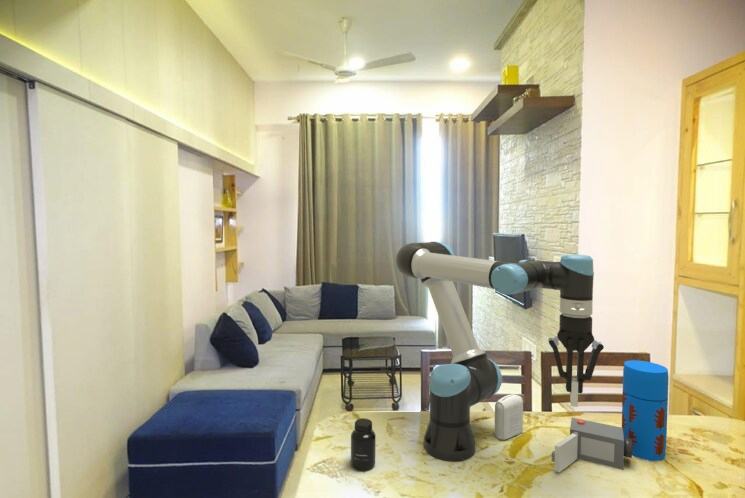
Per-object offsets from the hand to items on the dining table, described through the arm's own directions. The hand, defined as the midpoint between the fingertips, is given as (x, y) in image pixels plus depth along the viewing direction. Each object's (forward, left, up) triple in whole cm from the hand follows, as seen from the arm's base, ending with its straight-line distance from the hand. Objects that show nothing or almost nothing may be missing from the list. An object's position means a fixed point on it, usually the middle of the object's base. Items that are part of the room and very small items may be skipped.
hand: (573, 404), depth 104 cm
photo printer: (-19, +13, -19) cm, 30 cm away
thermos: (+17, +22, -19) cm, 34 cm away
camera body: (+5, +13, -19) cm, 24 cm away
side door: (-2, +4, -19) cm, 19 cm away
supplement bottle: (-51, -23, -19) cm, 59 cm away
